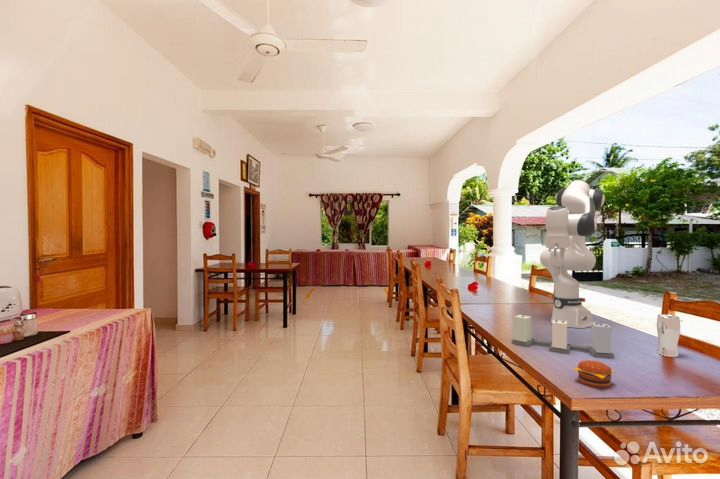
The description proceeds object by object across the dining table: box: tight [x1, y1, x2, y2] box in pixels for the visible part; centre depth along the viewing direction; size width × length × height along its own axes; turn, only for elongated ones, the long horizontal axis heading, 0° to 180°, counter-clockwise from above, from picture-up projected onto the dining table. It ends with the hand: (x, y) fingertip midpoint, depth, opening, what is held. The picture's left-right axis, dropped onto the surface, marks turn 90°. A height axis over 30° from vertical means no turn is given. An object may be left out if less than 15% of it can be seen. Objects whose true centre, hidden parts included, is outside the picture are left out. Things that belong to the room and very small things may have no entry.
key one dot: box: [513, 314, 532, 342], centre depth 156 cm, size 5×5×10 cm
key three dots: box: [591, 322, 612, 353], centre depth 141 cm, size 5×5×10 cm
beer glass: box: [656, 313, 681, 358], centre depth 141 cm, size 7×7×15 cm
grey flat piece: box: [511, 337, 615, 359], centre depth 150 cm, size 12×36×2 cm, turn 57°
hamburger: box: [572, 359, 616, 389], centre depth 117 cm, size 9×10×7 cm
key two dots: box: [551, 320, 568, 349], centre depth 147 cm, size 5×5×10 cm
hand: (556, 275), depth 156 cm, fingers open, 3 cm apart
